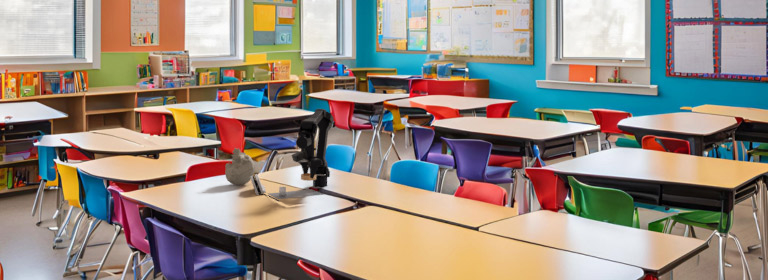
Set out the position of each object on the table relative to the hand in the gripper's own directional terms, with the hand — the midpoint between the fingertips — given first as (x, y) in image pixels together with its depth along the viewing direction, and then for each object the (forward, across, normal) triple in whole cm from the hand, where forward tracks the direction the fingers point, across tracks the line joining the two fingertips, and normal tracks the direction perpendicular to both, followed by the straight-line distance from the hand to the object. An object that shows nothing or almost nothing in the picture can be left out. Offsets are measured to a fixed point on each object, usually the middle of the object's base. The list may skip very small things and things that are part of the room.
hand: (308, 177), depth 355 cm
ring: (+1, 0, 0) cm, 1 cm away
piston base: (+9, 0, -7) cm, 11 cm away
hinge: (+10, -19, -19) cm, 28 cm away
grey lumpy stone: (+9, -39, -21) cm, 45 cm away
